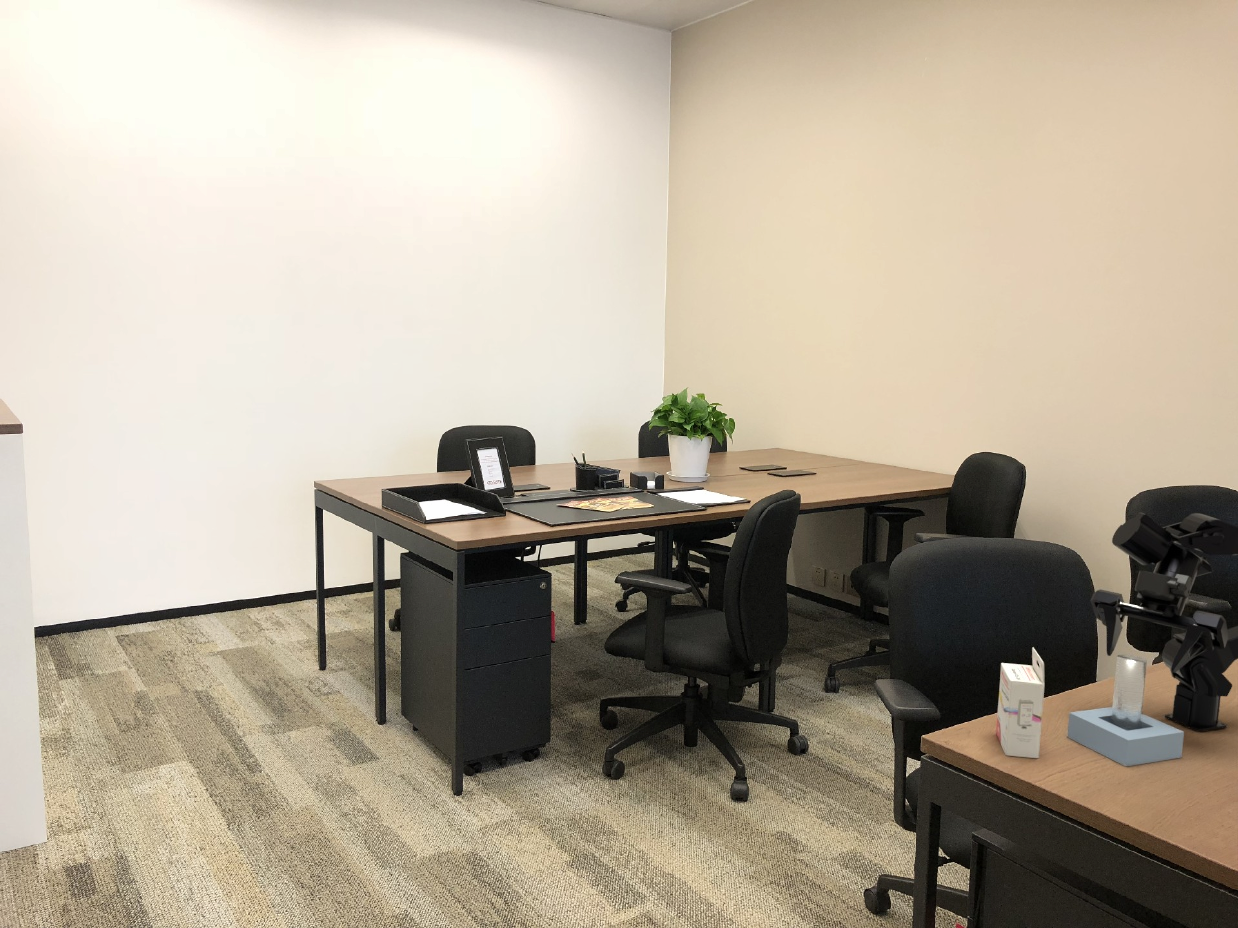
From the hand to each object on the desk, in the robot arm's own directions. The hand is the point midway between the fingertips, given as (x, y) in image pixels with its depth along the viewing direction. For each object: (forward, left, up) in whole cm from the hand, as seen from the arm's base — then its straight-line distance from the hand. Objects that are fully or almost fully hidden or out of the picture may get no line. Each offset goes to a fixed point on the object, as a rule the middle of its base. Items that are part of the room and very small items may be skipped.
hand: (1139, 662), depth 148 cm
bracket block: (+3, +1, -13) cm, 13 cm away
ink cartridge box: (+19, -4, -13) cm, 24 cm away
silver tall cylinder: (+3, +1, -13) cm, 13 cm away
